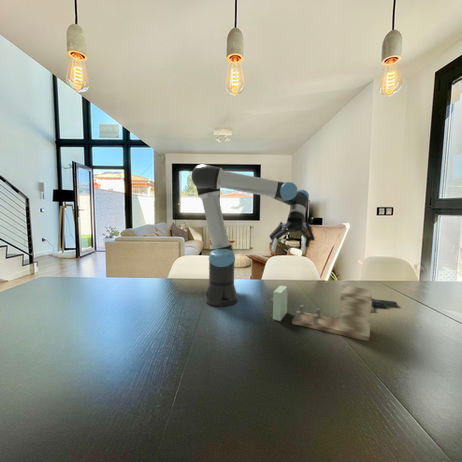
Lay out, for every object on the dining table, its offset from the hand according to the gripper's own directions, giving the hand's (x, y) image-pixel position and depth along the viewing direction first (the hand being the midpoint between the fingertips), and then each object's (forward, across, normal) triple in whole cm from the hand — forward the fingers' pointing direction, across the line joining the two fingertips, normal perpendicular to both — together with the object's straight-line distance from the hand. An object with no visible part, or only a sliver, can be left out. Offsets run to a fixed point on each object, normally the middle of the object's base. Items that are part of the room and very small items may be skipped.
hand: (287, 251), depth 104 cm
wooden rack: (+25, -18, -10) cm, 33 cm away
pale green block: (+25, 0, -9) cm, 27 cm away
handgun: (+5, -34, -34) cm, 48 cm away
